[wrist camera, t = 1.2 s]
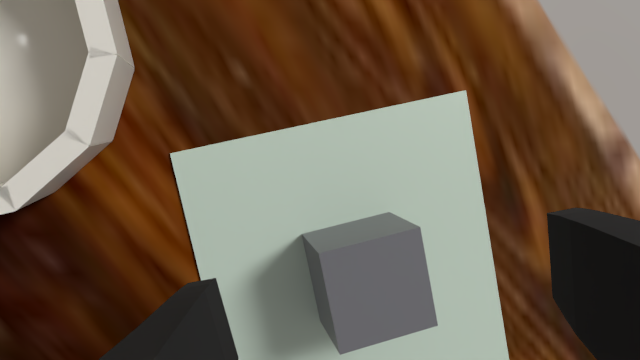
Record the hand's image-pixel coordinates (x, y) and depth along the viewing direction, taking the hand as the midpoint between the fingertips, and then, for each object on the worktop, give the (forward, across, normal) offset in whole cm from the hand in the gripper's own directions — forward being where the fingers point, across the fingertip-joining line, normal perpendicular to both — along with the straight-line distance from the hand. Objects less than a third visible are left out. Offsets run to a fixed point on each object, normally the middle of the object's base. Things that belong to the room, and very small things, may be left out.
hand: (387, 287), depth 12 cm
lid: (+12, +1, +5) cm, 13 cm away
